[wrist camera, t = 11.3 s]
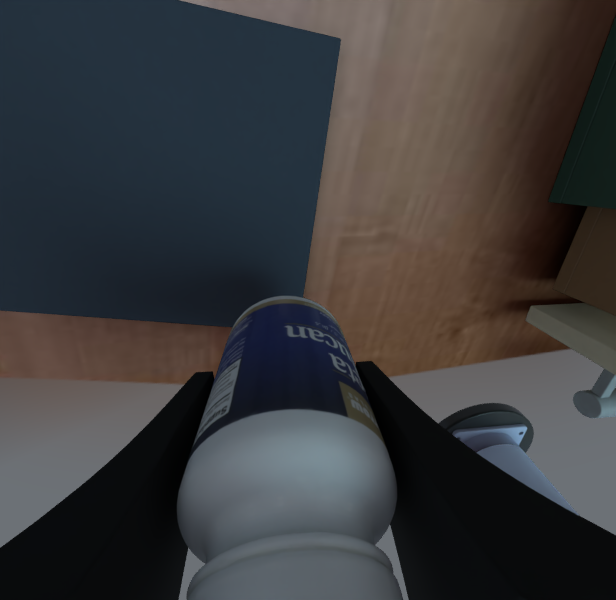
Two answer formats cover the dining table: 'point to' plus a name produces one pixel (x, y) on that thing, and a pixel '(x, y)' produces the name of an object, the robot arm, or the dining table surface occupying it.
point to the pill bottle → (288, 467)
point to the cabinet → (593, 142)
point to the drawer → (588, 307)
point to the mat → (157, 158)
